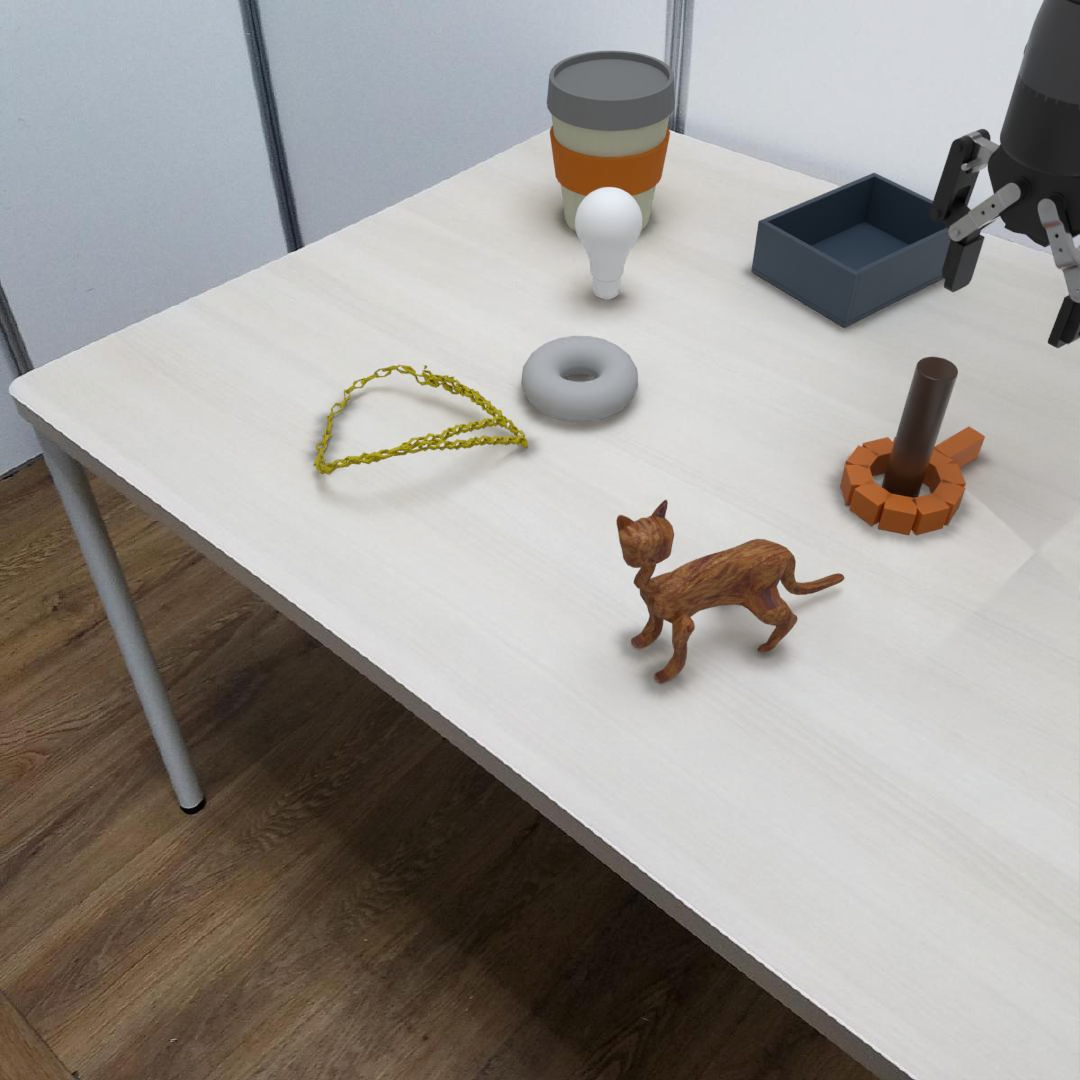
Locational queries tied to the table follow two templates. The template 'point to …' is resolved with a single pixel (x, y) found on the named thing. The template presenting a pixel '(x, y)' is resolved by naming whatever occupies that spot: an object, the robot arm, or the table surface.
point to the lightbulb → (608, 235)
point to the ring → (904, 510)
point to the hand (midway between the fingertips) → (1006, 313)
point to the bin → (853, 248)
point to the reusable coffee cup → (609, 125)
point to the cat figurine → (708, 584)
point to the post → (919, 425)
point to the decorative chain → (407, 446)
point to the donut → (579, 398)
